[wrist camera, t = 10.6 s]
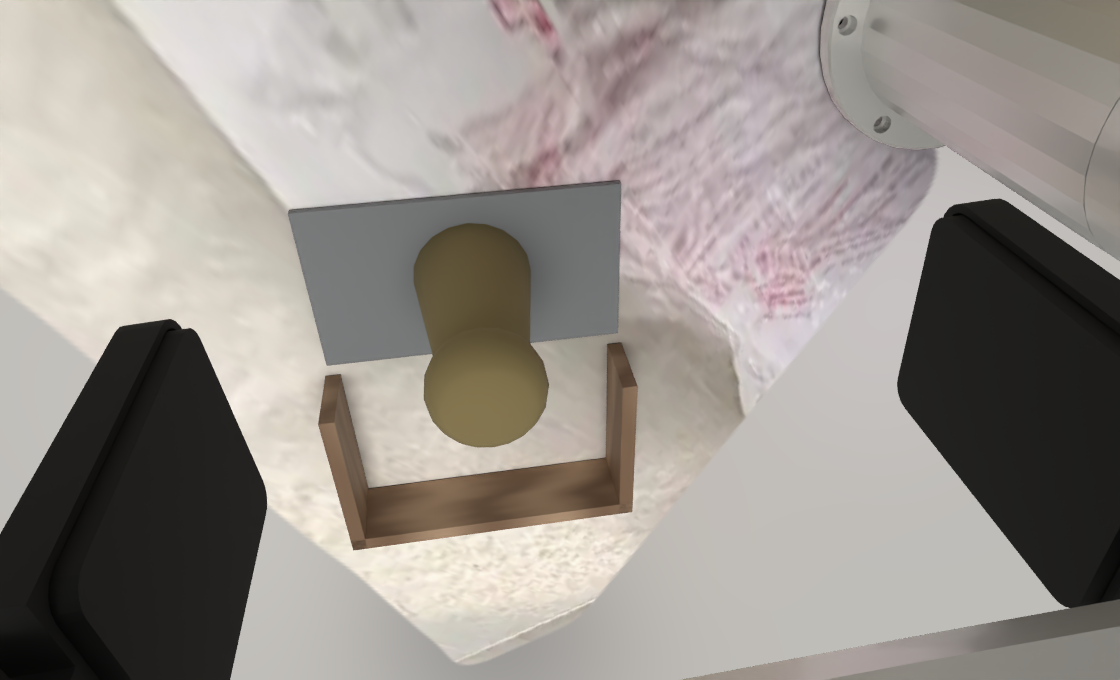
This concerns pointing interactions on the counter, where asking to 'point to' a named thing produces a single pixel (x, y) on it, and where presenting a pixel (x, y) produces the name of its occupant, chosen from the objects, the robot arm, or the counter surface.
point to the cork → (479, 336)
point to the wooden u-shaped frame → (483, 480)
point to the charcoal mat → (407, 225)
